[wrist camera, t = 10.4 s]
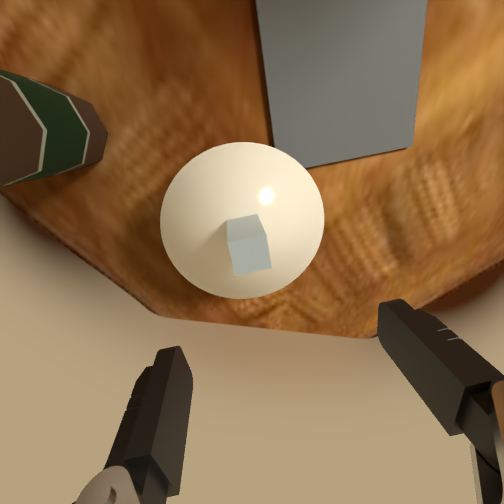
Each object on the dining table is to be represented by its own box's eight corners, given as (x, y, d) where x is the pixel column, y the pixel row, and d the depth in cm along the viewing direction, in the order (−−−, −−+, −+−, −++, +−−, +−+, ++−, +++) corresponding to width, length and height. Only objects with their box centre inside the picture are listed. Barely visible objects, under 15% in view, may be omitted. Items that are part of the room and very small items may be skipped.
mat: (427, -45, 23) (432, -49, 23) (409, 146, 31) (412, 146, 30) (253, -12, 23) (254, -16, 22) (277, 172, 30) (278, 173, 30)
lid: (316, 125, 21) (349, 120, 16) (325, 278, 28) (350, 313, 23) (135, 161, 21) (103, 170, 15) (189, 307, 28) (180, 350, 22)
